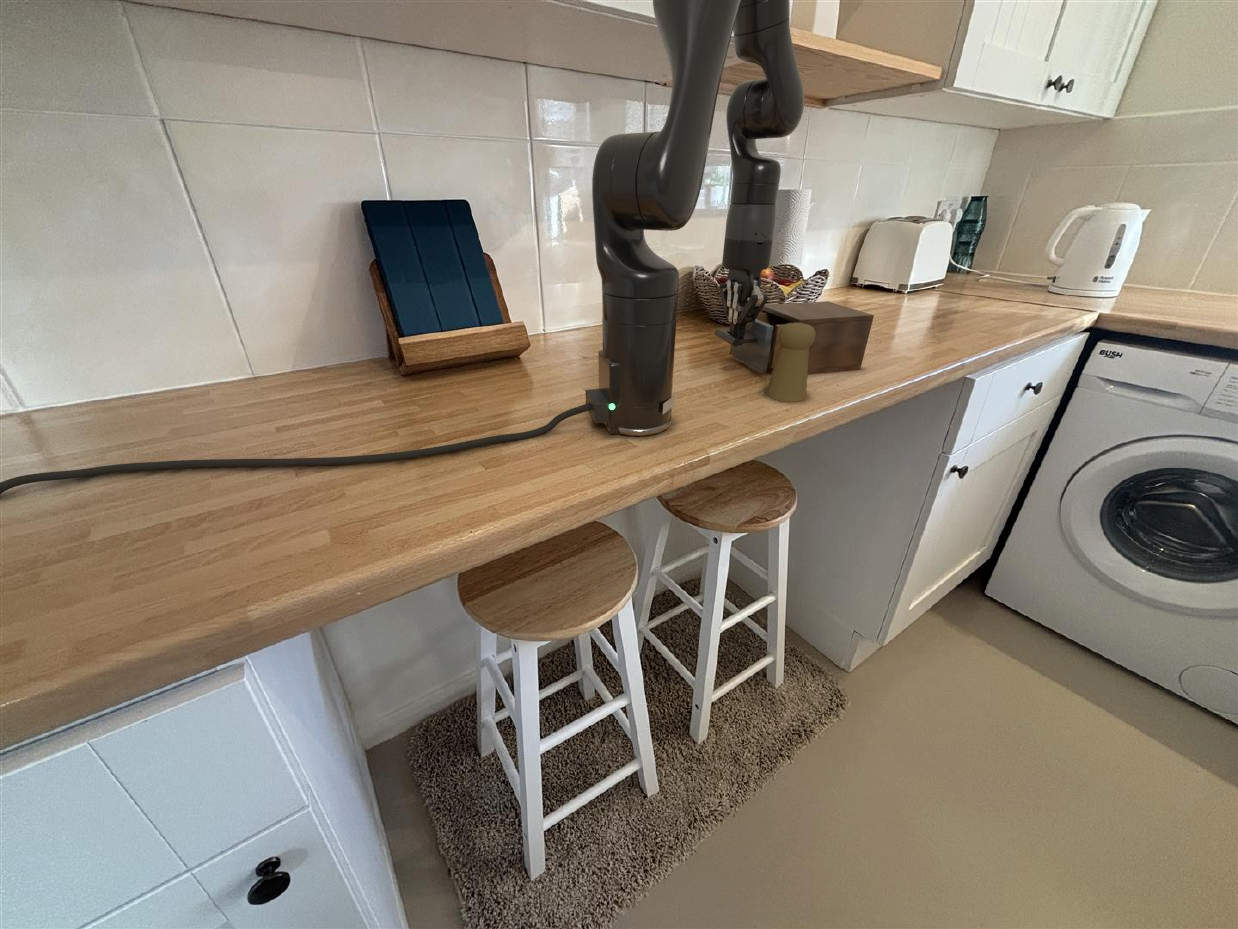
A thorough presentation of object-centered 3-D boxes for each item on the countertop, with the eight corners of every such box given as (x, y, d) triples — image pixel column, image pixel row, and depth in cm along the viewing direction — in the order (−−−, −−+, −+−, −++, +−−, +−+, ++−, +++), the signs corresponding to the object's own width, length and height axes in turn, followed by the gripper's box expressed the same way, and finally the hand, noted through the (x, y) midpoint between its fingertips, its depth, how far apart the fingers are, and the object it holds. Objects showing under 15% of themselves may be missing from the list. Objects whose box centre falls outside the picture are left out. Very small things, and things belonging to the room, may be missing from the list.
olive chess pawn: (801, 388, 80) (814, 319, 75) (810, 402, 75) (825, 329, 69) (763, 387, 80) (774, 318, 75) (769, 400, 75) (781, 328, 70)
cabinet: (789, 376, 85) (800, 319, 81) (753, 355, 96) (760, 304, 91) (860, 369, 89) (874, 315, 84) (817, 350, 99) (827, 301, 95)
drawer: (735, 374, 83) (741, 328, 79) (706, 355, 92) (710, 313, 89) (828, 366, 87) (837, 321, 84) (791, 348, 97) (798, 308, 93)
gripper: (709, 233, 83) (700, 336, 91) (747, 240, 72) (733, 356, 80) (749, 232, 85) (737, 333, 93) (793, 239, 73) (774, 353, 82)
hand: (735, 344), depth 86 cm, fingers closed
